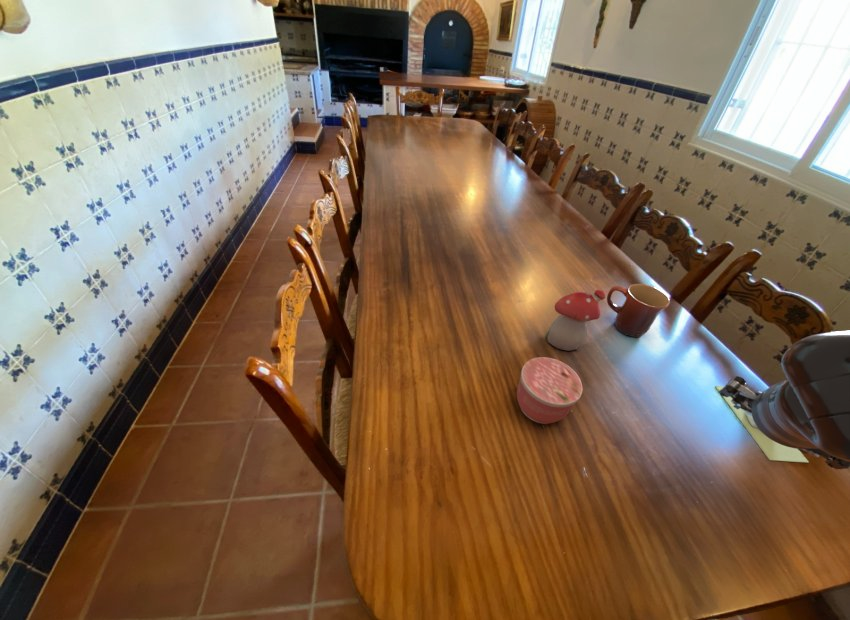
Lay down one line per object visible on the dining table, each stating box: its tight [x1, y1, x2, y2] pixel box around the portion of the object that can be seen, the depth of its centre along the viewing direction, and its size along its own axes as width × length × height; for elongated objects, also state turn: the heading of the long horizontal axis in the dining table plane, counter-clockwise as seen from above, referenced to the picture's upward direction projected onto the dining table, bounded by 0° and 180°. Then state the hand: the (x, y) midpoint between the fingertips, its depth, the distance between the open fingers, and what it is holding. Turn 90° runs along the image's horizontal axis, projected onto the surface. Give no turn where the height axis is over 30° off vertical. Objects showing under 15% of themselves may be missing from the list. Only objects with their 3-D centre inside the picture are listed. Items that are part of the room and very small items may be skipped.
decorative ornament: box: [545, 289, 607, 352], centre depth 76 cm, size 9×7×15 cm
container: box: [516, 356, 583, 425], centre depth 65 cm, size 10×10×8 cm
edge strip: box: [714, 385, 810, 464], centre depth 68 cm, size 16×7×1 cm, turn 179°
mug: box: [606, 283, 671, 338], centre depth 84 cm, size 12×9×10 cm
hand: (770, 423), depth 54 cm, fingers open, 8 cm apart
